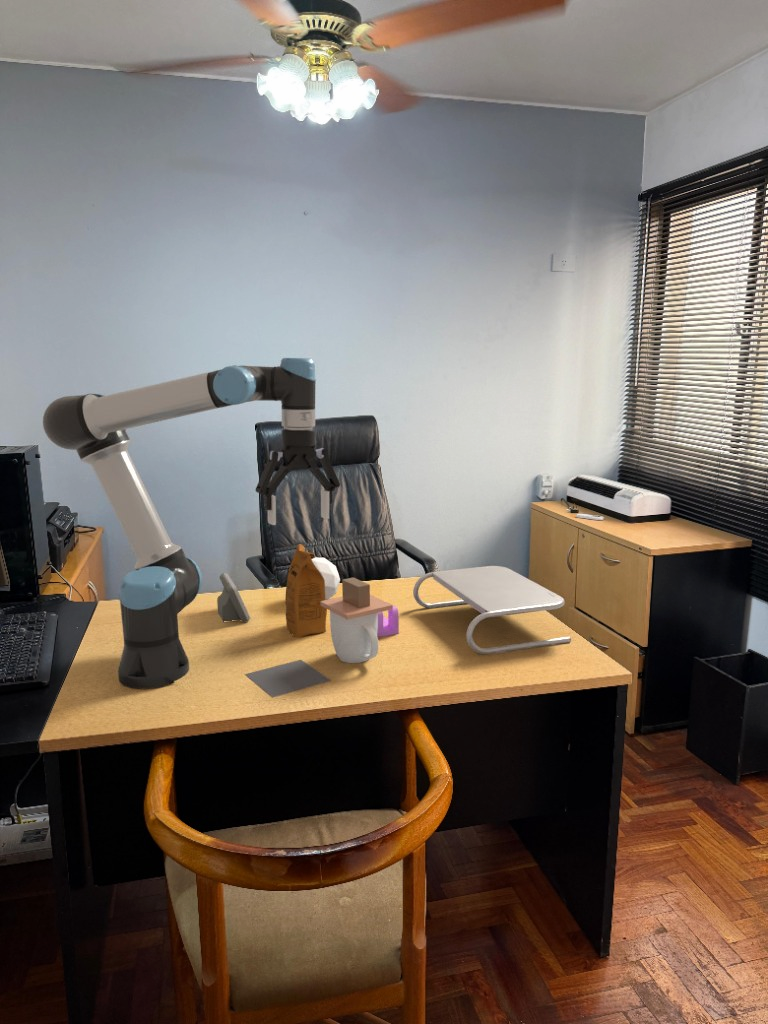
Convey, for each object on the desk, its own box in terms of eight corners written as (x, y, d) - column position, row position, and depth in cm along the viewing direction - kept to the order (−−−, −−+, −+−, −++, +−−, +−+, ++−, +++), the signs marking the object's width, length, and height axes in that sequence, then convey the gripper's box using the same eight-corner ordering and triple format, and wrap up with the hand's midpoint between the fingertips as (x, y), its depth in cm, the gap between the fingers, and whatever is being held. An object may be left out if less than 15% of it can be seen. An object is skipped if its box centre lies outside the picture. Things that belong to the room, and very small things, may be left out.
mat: (272, 700, 148) (272, 697, 148) (244, 676, 160) (244, 674, 159) (331, 682, 156) (331, 680, 156) (300, 661, 167) (300, 659, 167)
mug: (396, 667, 164) (396, 612, 161) (355, 678, 158) (354, 622, 155) (362, 646, 176) (361, 595, 173) (322, 656, 170) (320, 604, 167)
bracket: (398, 634, 184) (398, 608, 183) (378, 637, 182) (377, 611, 181) (380, 618, 196) (380, 593, 195) (361, 620, 194) (361, 596, 193)
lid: (347, 619, 157) (346, 593, 156) (320, 605, 167) (319, 580, 165) (392, 609, 163) (392, 583, 162) (364, 595, 173) (363, 571, 172)
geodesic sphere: (335, 593, 199) (338, 547, 205) (286, 593, 200) (290, 547, 206) (341, 609, 212) (343, 566, 218) (295, 609, 213) (298, 566, 219)
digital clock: (250, 624, 192) (248, 586, 190) (215, 626, 191) (213, 588, 189) (250, 605, 208) (248, 569, 206) (218, 607, 207) (216, 571, 205)
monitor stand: (571, 643, 177) (573, 601, 175) (467, 658, 169) (468, 615, 167) (501, 599, 212) (502, 563, 210) (412, 610, 203) (412, 573, 201)
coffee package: (319, 619, 195) (316, 540, 191) (330, 635, 184) (328, 551, 179) (282, 624, 192) (279, 544, 188) (291, 640, 181) (288, 555, 176)
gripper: (253, 431, 151) (255, 529, 156) (354, 427, 165) (354, 518, 169) (239, 428, 158) (241, 523, 162) (338, 425, 171) (338, 512, 175)
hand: (299, 521), depth 166 cm, fingers open, 13 cm apart
